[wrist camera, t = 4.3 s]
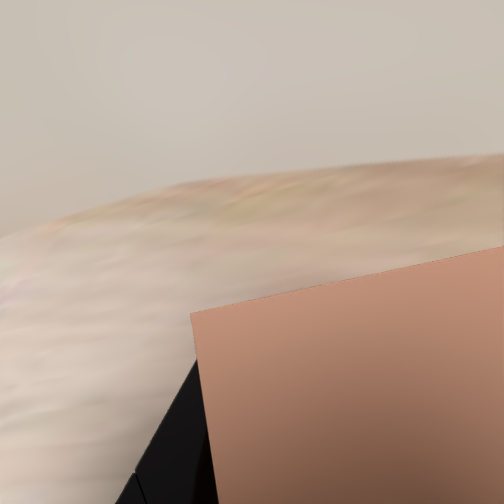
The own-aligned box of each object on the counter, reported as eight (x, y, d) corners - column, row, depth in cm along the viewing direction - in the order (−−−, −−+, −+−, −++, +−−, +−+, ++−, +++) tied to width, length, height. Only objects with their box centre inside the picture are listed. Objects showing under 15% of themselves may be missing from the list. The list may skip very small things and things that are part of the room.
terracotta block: (391, 419, 13) (687, 663, 4) (273, 442, 13) (253, 734, 4) (357, 301, 14) (509, 244, 5) (250, 323, 15) (189, 313, 5)
